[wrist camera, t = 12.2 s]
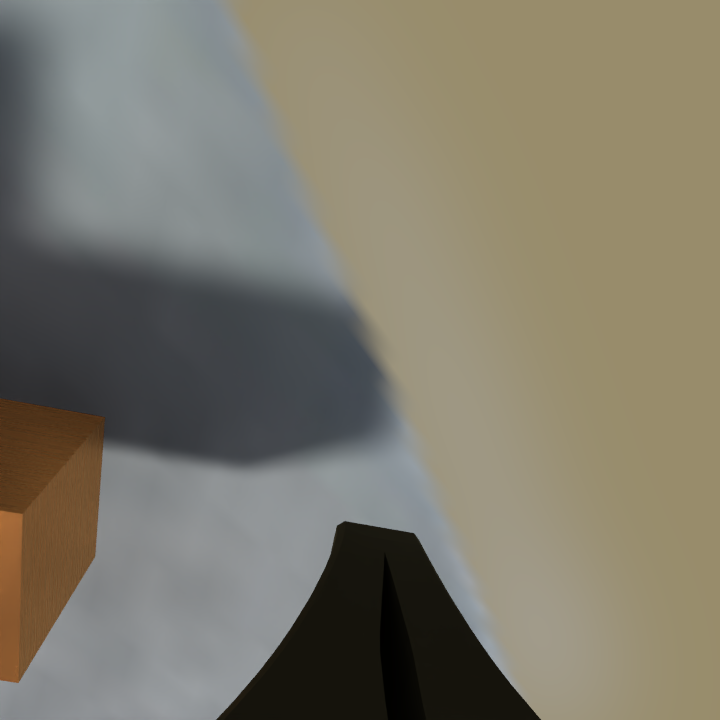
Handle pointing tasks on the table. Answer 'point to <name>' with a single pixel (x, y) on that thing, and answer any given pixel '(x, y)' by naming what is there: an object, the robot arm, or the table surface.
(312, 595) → the robot arm
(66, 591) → the clamp jaw
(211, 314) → the table surface
